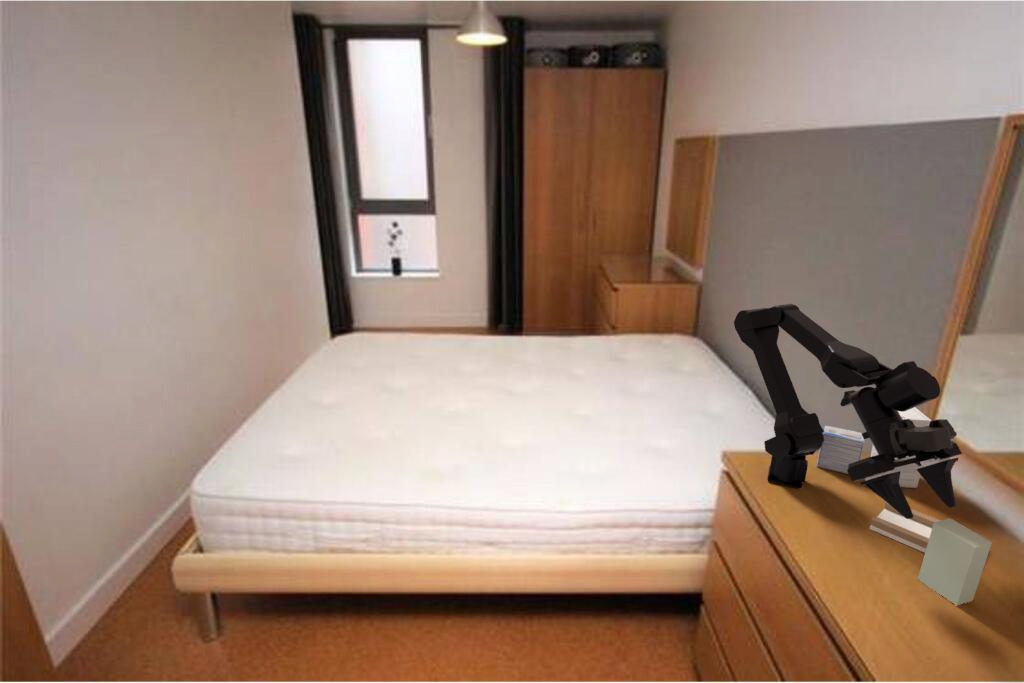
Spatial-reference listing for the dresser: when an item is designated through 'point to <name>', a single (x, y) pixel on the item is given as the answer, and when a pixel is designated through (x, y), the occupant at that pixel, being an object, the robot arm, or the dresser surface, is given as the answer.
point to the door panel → (954, 561)
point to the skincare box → (908, 472)
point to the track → (904, 527)
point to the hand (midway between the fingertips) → (931, 512)
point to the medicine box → (840, 449)
